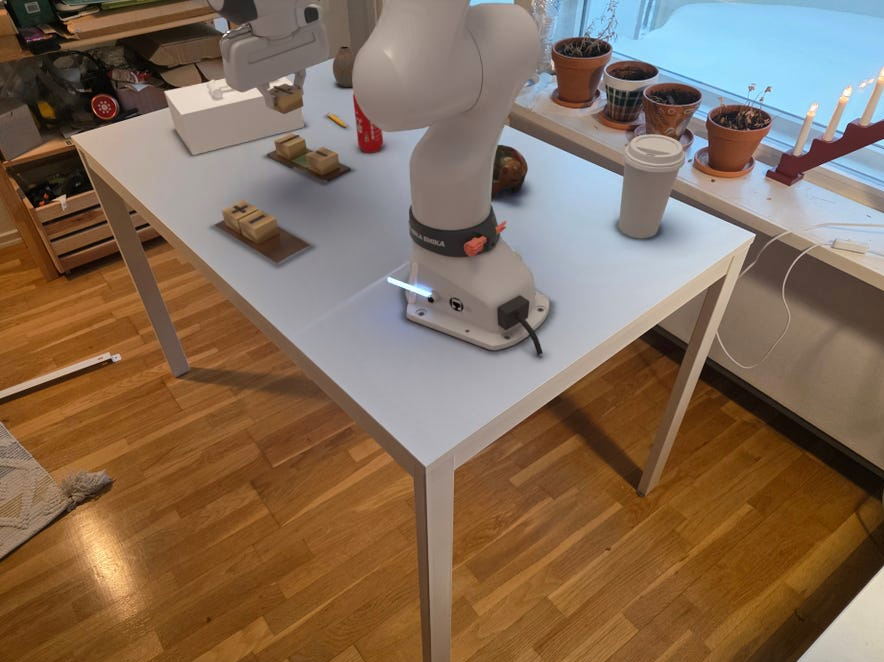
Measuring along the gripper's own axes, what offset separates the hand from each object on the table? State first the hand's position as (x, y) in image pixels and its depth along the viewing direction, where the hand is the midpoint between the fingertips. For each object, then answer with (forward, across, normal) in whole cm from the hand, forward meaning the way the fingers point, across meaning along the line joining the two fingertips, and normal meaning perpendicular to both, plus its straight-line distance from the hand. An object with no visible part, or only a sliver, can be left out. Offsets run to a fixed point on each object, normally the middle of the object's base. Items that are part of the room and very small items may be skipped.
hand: (285, 100), depth 116 cm
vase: (+16, +40, +29) cm, 52 cm away
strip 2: (+16, +6, +4) cm, 17 cm away
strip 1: (+16, -17, -10) cm, 26 cm away
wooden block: (+1, 0, 0) cm, 1 cm away
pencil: (+16, +23, +14) cm, 31 cm away
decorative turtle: (+15, +22, -32) cm, 42 cm away
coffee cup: (+15, +26, -59) cm, 66 cm away
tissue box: (+16, +7, +29) cm, 34 cm away
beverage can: (+16, +19, -1) cm, 25 cm away
